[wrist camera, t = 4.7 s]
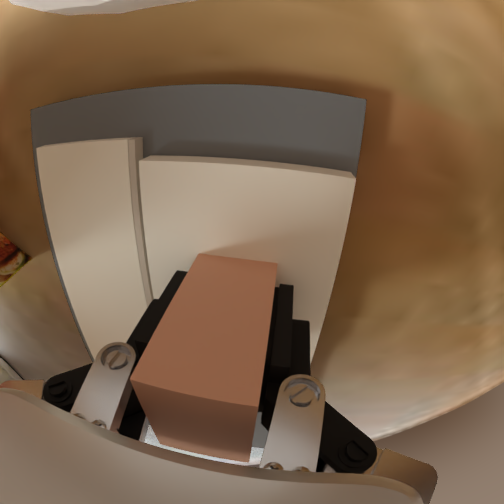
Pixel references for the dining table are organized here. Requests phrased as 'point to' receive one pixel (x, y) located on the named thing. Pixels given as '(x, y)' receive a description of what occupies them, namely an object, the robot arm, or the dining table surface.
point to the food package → (10, 259)
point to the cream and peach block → (230, 285)
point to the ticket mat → (128, 180)
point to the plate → (92, 5)
